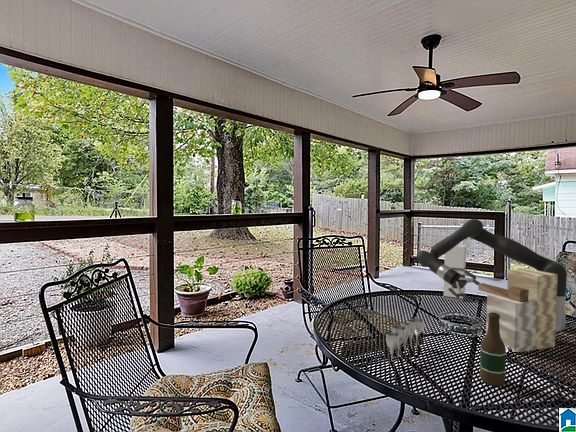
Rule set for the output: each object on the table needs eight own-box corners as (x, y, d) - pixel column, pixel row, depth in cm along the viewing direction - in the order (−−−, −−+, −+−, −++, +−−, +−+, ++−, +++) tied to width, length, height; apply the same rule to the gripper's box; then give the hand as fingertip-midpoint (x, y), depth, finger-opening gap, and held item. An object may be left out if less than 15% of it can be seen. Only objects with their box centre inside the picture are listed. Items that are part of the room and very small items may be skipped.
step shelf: (524, 335, 169) (526, 268, 168) (554, 346, 156) (557, 274, 155) (485, 340, 161) (487, 271, 160) (514, 353, 148) (516, 277, 147)
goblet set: (395, 369, 133) (396, 334, 133) (381, 364, 137) (382, 330, 137) (425, 347, 154) (426, 317, 153) (412, 343, 157) (413, 314, 157)
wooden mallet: (484, 289, 172) (485, 278, 172) (528, 301, 151) (528, 289, 151) (476, 289, 171) (477, 279, 170) (519, 302, 150) (520, 290, 150)
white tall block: (464, 297, 236) (466, 245, 235) (462, 301, 227) (464, 247, 226) (446, 295, 242) (447, 244, 241) (443, 298, 233) (444, 245, 232)
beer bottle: (474, 375, 128) (476, 310, 127) (495, 375, 129) (497, 309, 128) (488, 387, 121) (490, 317, 120) (510, 386, 121) (512, 316, 120)
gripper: (458, 267, 192) (485, 284, 179) (441, 287, 192) (467, 305, 179) (455, 261, 187) (482, 278, 175) (437, 281, 187) (463, 299, 174)
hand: (474, 292), depth 177 cm, fingers open, 8 cm apart
